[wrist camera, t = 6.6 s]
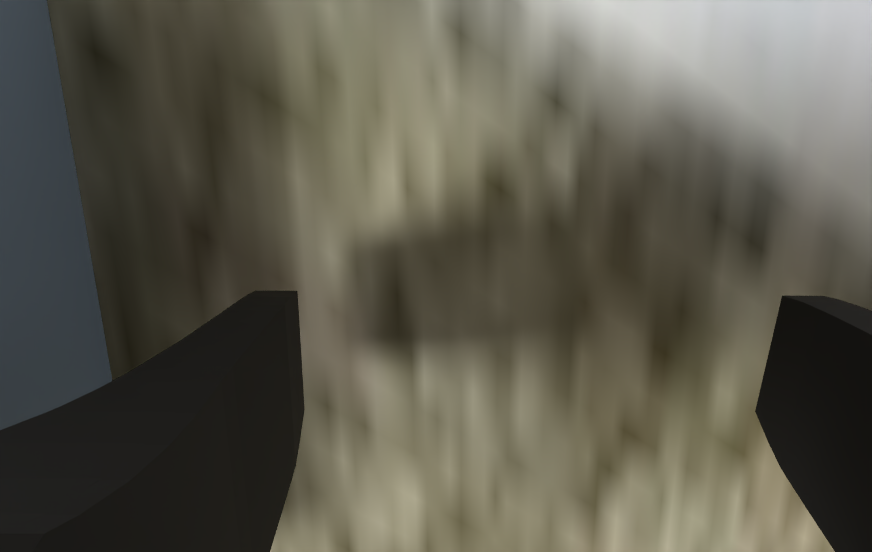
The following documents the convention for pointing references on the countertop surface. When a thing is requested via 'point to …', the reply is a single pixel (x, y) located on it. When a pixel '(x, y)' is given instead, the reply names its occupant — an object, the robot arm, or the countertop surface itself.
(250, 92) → the countertop surface
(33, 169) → the blue-grey rectangular block
